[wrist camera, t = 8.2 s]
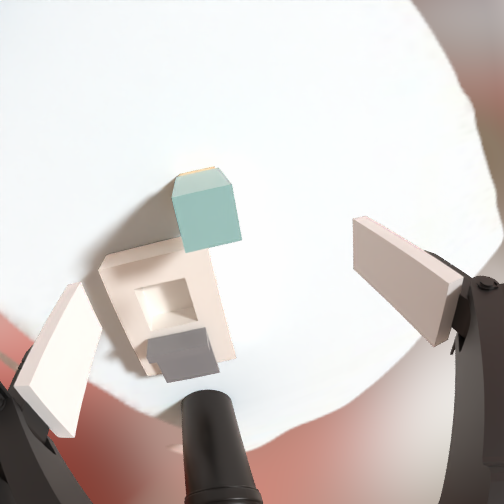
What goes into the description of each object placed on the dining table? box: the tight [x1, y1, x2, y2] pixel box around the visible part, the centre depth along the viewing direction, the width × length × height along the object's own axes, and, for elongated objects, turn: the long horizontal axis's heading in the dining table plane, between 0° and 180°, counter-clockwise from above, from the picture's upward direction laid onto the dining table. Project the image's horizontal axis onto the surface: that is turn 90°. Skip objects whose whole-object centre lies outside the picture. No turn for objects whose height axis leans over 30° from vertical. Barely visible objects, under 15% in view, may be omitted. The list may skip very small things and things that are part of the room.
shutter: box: [146, 327, 220, 383], centre depth 33 cm, size 7×7×3 cm
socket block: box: [98, 237, 236, 376], centre depth 35 cm, size 16×12×4 cm
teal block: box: [172, 167, 242, 253], centre depth 26 cm, size 4×4×12 cm
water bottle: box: [182, 390, 263, 504], centre depth 35 cm, size 10×10×23 cm
